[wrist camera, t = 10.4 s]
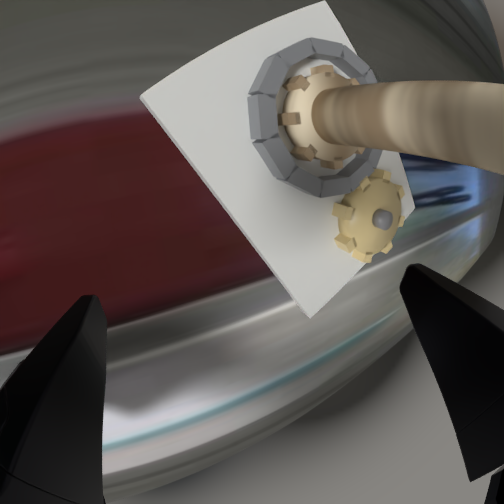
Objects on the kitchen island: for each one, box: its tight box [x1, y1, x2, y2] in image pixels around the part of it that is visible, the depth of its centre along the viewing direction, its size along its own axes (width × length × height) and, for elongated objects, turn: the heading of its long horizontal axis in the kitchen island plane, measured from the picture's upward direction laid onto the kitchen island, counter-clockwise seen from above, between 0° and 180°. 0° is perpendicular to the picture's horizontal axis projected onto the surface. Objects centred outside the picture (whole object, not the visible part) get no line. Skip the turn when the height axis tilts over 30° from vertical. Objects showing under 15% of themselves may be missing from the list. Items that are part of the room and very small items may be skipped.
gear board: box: [140, 1, 415, 318], centre depth 20 cm, size 16×22×4 cm
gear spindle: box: [277, 65, 504, 175], centre depth 13 cm, size 8×8×14 cm
